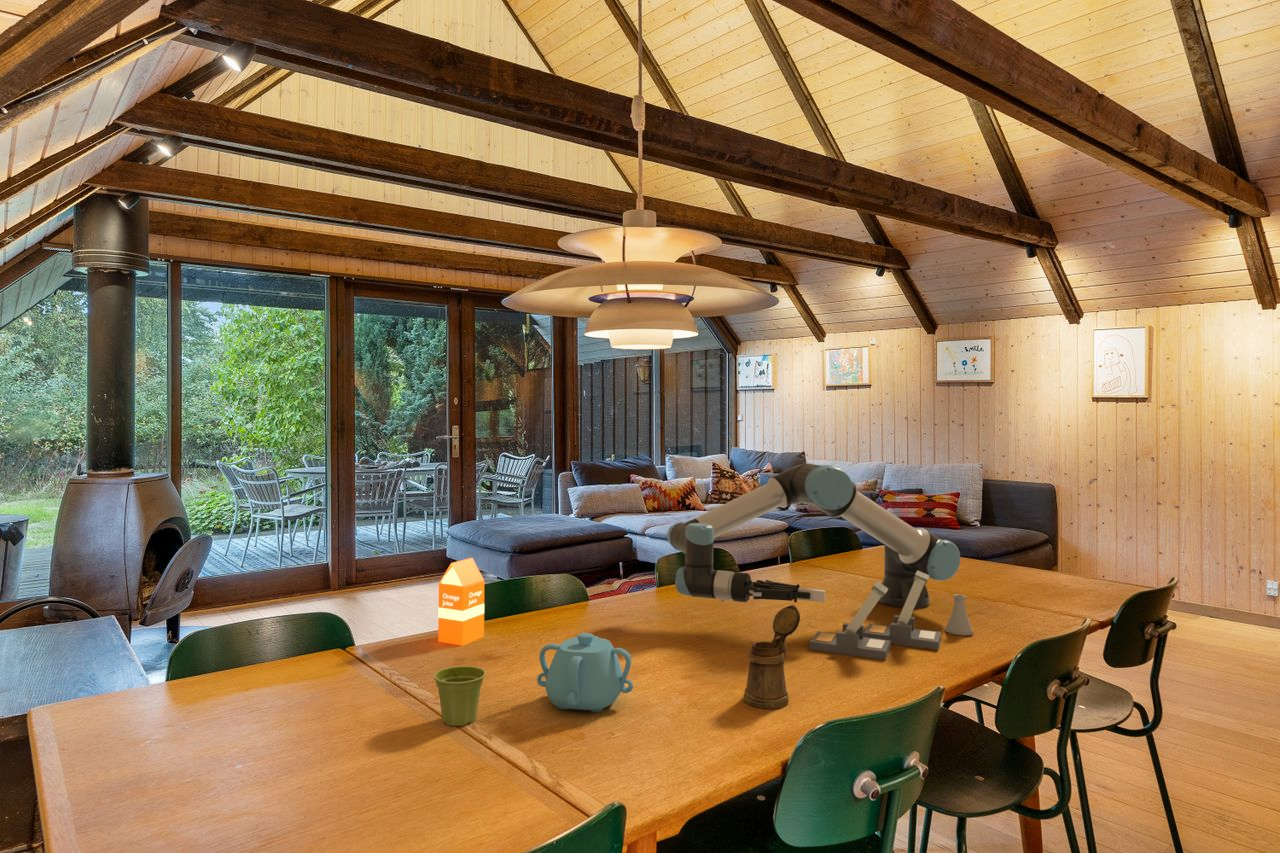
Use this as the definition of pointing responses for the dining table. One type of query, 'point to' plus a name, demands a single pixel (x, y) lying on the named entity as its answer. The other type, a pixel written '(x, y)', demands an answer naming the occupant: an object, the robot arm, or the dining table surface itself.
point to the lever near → (866, 607)
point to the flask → (959, 618)
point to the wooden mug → (771, 664)
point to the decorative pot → (584, 673)
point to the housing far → (904, 634)
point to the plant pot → (459, 693)
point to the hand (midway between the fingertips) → (824, 596)
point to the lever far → (913, 597)
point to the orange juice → (461, 604)
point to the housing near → (850, 644)
